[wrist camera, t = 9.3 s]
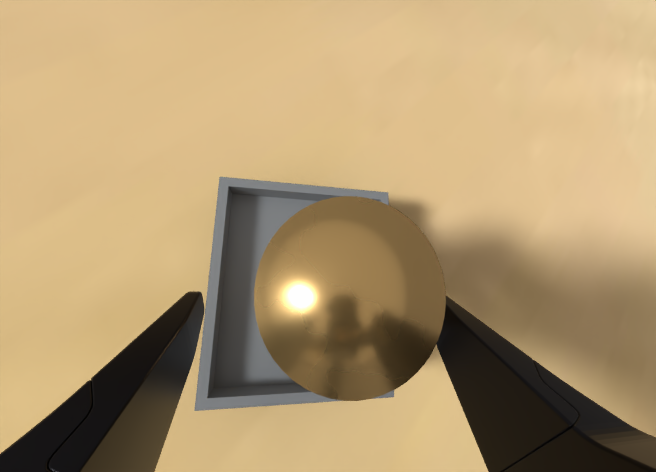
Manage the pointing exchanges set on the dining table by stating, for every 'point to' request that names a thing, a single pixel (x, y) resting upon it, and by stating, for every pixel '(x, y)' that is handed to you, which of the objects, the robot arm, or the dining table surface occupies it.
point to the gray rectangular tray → (249, 295)
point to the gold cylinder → (349, 298)
